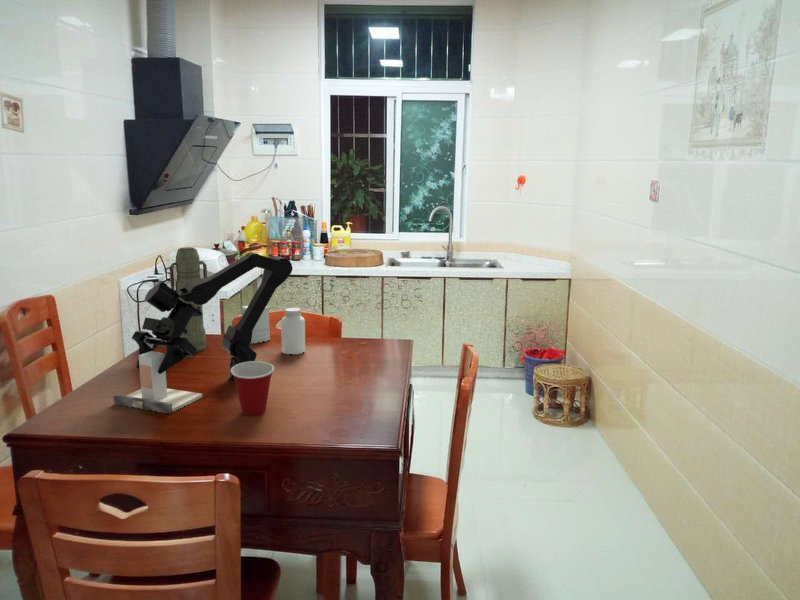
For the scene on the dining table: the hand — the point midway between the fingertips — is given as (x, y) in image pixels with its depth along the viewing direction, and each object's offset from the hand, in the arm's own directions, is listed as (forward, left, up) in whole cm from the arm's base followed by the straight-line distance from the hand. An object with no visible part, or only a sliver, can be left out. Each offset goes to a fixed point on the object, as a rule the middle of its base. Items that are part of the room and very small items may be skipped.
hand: (148, 371), depth 165 cm
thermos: (+23, -46, -9) cm, 52 cm away
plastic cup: (-29, -4, -9) cm, 31 cm away
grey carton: (0, -1, -8) cm, 8 cm away
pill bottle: (-11, -56, -9) cm, 58 cm away
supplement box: (+9, -64, -9) cm, 66 cm away
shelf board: (-1, -2, -9) cm, 9 cm away
